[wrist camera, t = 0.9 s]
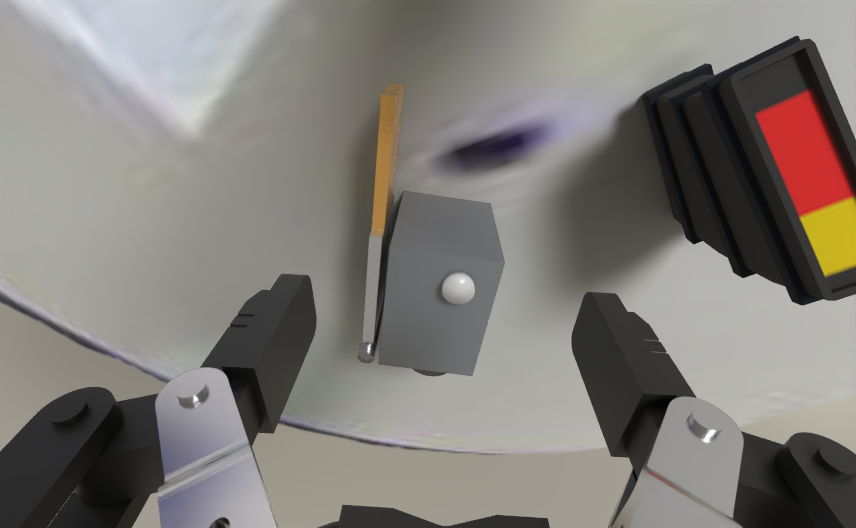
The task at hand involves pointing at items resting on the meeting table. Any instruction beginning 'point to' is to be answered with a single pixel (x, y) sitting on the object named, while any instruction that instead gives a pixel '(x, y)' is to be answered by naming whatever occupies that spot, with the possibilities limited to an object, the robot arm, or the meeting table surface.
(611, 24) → the meeting table surface
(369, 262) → the orange and gray panel
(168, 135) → the meeting table surface
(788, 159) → the black ribbed block
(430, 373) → the grey box with knob
